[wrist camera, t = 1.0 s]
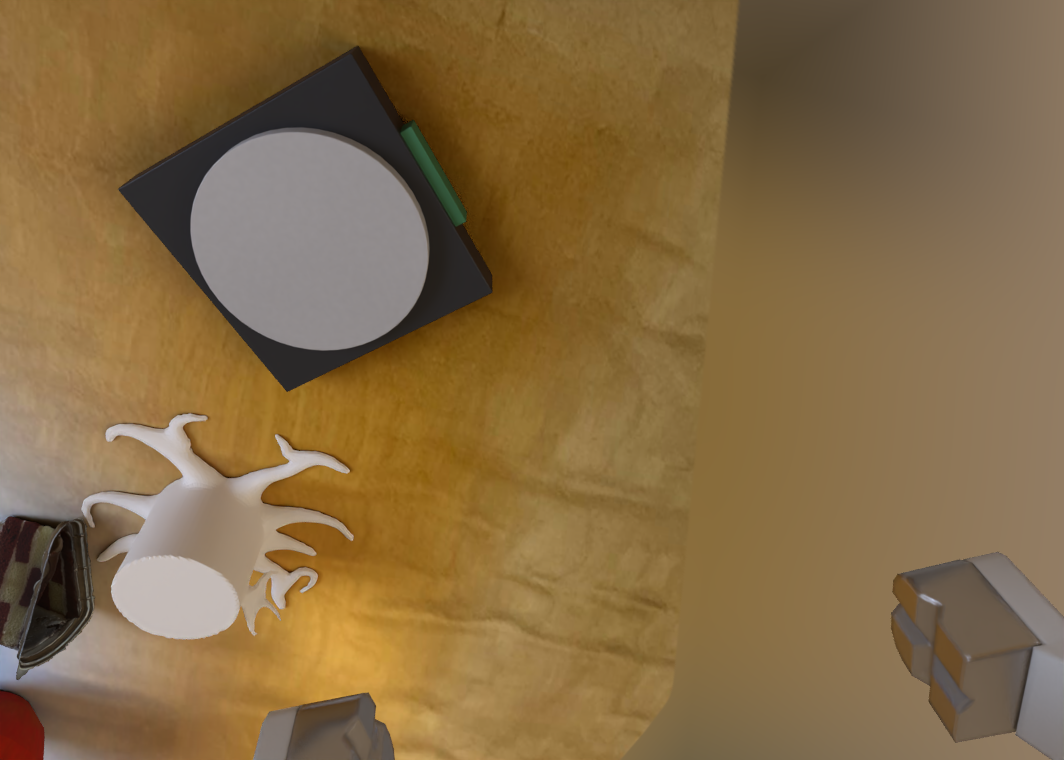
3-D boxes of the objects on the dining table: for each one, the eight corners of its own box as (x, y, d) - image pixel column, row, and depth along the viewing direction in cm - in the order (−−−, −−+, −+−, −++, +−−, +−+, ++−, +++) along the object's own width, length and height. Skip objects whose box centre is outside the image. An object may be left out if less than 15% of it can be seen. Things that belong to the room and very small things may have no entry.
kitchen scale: (369, 38, 39) (359, 49, 36) (502, 270, 47) (503, 295, 44) (135, 175, 42) (109, 195, 39) (295, 371, 50) (283, 401, 47)
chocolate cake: (-20, 484, 54) (-111, 650, 51) (67, 516, 53) (-19, 686, 50) (60, 500, 63) (-13, 642, 60) (135, 527, 62) (65, 672, 59)
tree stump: (261, 634, 63) (234, 722, 57) (33, 530, 56) (-30, 616, 49) (402, 497, 56) (391, 578, 49) (161, 354, 48) (108, 427, 42)
